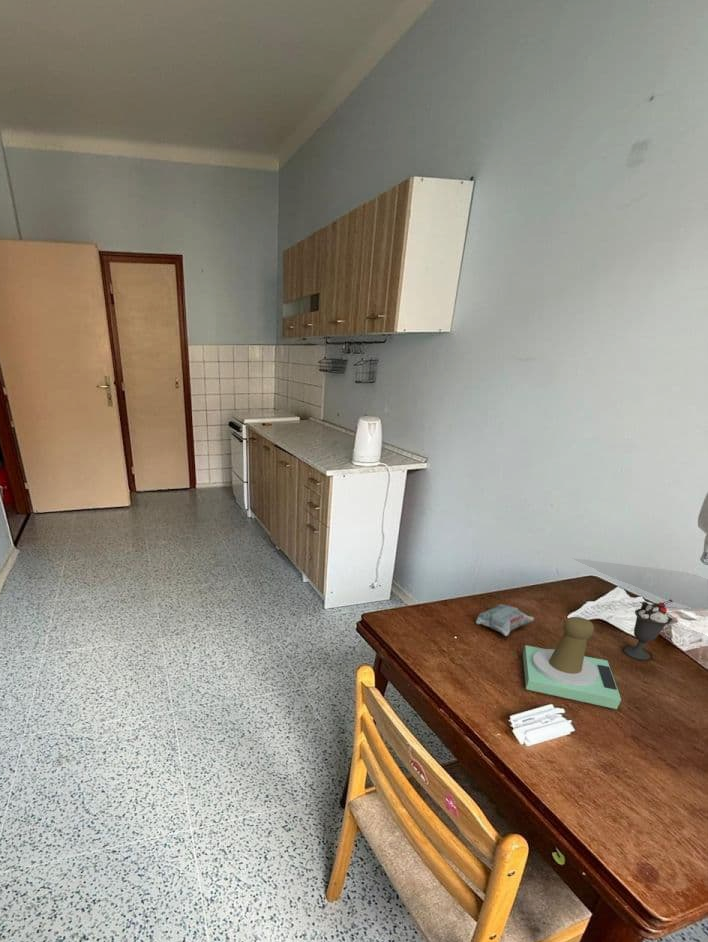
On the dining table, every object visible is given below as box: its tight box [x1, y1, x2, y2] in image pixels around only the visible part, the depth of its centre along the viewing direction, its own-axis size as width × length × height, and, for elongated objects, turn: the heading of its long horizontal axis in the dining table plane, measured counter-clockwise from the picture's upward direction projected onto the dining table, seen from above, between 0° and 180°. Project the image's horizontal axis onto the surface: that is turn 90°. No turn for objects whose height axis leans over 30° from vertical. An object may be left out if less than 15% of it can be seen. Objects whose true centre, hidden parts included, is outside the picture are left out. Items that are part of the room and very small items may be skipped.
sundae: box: [623, 599, 674, 661], centre depth 105 cm, size 7×7×15 cm
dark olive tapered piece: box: [549, 616, 595, 674], centre depth 97 cm, size 6×6×11 cm
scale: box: [522, 644, 622, 710], centre depth 100 cm, size 16×14×4 cm
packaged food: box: [475, 603, 535, 637], centre depth 119 cm, size 9×12×5 cm
